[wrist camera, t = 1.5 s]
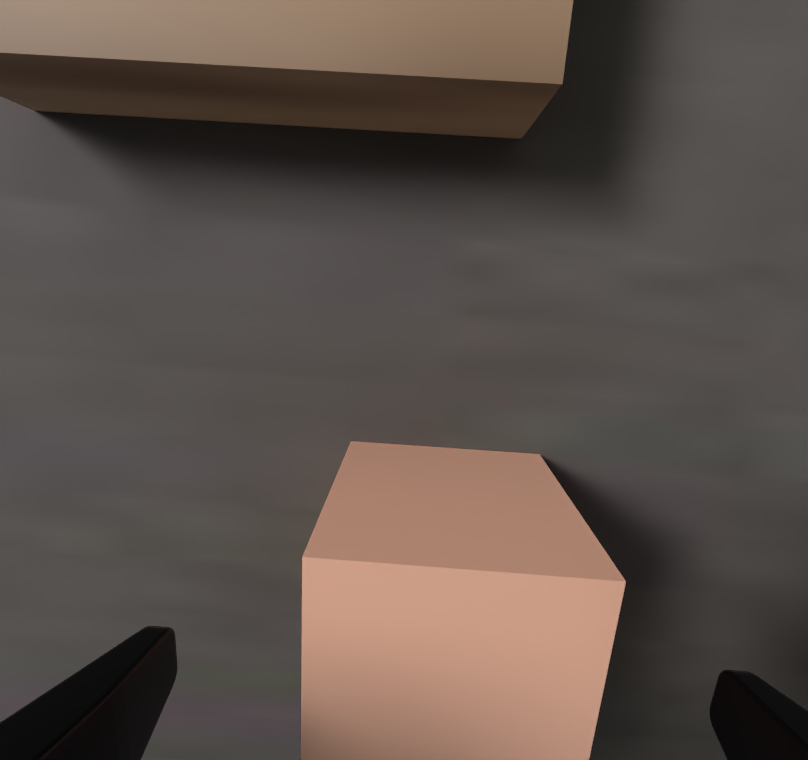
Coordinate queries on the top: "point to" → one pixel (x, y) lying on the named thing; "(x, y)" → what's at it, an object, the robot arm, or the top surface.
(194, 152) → the top surface
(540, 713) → the salmon pink cube
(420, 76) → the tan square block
